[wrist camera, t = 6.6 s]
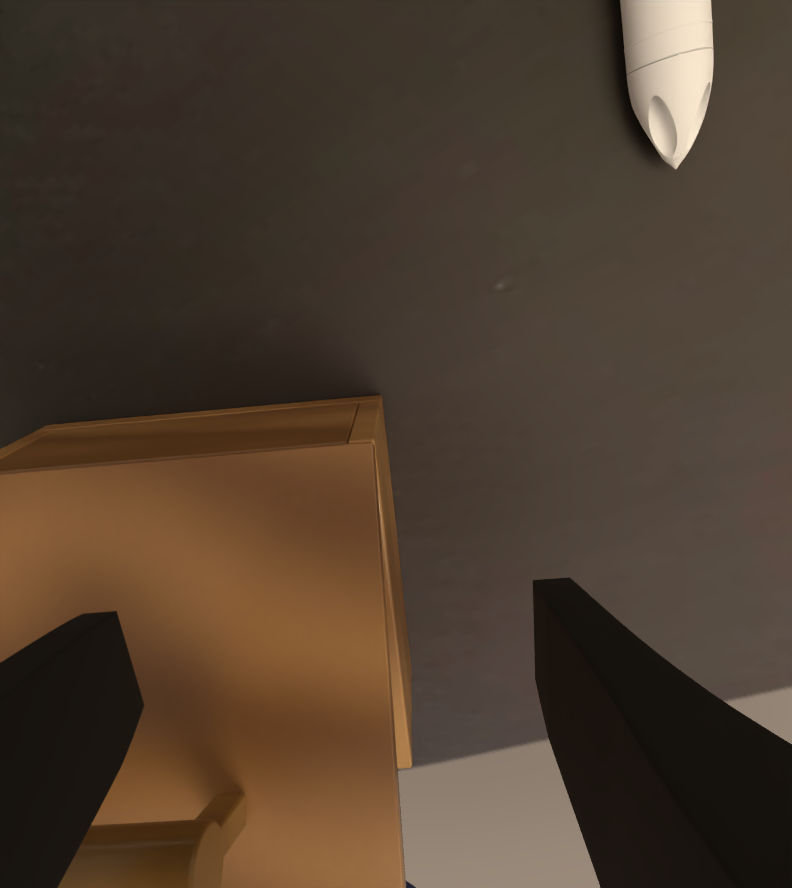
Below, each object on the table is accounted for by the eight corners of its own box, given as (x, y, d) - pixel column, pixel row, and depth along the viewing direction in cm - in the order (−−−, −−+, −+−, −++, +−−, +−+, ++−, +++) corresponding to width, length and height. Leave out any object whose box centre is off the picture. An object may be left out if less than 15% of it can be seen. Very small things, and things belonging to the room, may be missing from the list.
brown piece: (411, 964, 13) (401, 1147, 9) (-89, 985, 13) (-307, 1167, 9) (374, 445, 15) (353, 408, 11) (-57, 482, 15) (-225, 459, 12)
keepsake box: (411, 666, 23) (412, 769, 18) (125, 686, 23) (59, 790, 19) (382, 394, 19) (374, 439, 15) (47, 424, 20) (-57, 476, 15)
